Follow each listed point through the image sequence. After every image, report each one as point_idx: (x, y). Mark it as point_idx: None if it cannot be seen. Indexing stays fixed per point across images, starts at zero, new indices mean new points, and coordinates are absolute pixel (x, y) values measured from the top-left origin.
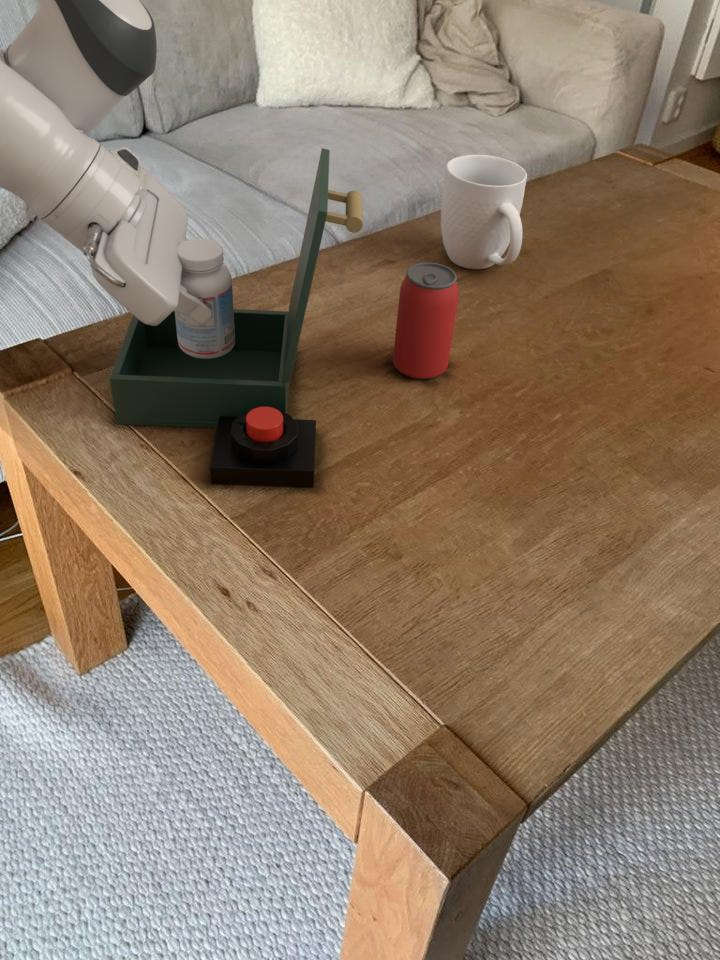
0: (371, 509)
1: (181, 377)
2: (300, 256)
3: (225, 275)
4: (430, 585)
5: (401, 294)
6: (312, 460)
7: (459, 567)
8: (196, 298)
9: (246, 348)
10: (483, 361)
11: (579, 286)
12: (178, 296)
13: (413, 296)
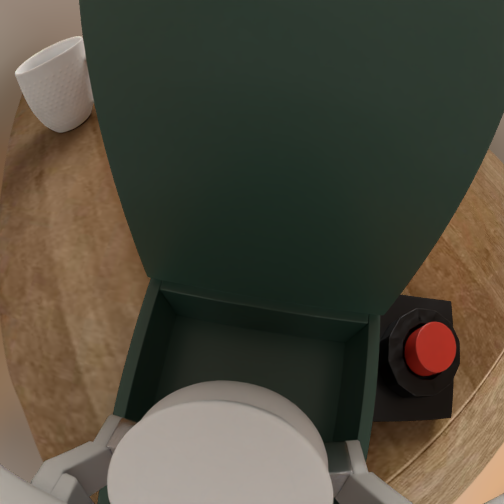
0: (453, 261)
1: None
2: (150, 183)
3: (262, 400)
4: (499, 237)
5: None
6: (438, 301)
7: (482, 215)
8: (362, 483)
9: (161, 370)
10: None
11: None
12: (494, 501)
13: None
